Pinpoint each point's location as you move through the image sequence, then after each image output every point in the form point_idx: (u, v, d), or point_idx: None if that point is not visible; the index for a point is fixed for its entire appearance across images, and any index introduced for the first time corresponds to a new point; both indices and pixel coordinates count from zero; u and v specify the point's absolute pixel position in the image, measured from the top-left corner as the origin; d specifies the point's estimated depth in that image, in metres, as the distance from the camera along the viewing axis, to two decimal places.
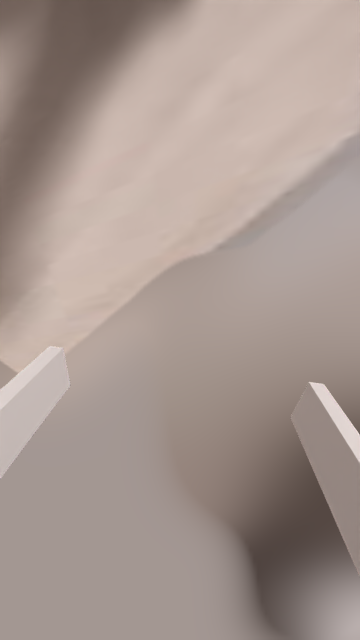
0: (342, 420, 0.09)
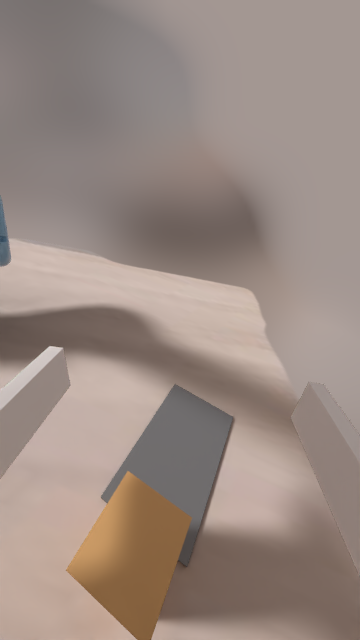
0: (342, 420, 0.09)
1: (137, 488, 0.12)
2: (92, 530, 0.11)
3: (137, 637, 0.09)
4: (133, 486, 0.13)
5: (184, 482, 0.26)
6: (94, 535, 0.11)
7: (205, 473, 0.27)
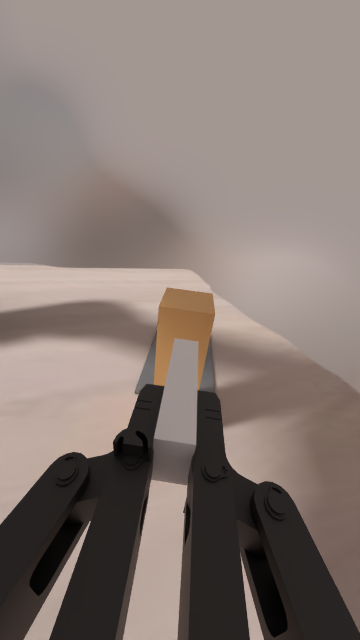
0: (191, 363, 0.11)
1: (177, 290, 0.20)
2: (163, 299, 0.18)
3: (208, 312, 0.17)
4: (174, 290, 0.20)
5: None
6: (165, 299, 0.18)
7: (205, 362, 0.36)
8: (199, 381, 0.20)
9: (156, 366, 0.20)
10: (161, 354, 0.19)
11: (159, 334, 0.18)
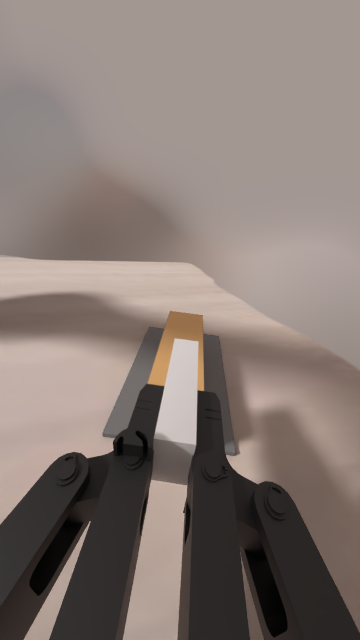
0: (191, 363, 0.11)
1: None
2: None
3: (198, 315, 0.29)
4: None
5: None
6: None
7: (214, 378, 0.24)
8: (202, 345, 0.22)
9: (164, 334, 0.23)
10: (169, 328, 0.25)
11: (168, 319, 0.26)
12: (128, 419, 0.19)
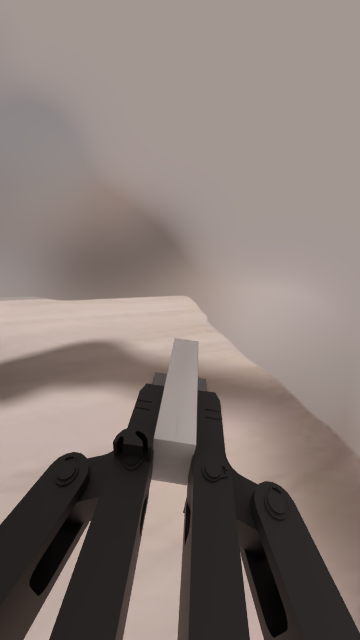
0: (191, 363, 0.11)
1: None
2: None
3: None
4: None
5: None
6: None
7: None
8: None
9: None
10: None
11: None
12: None
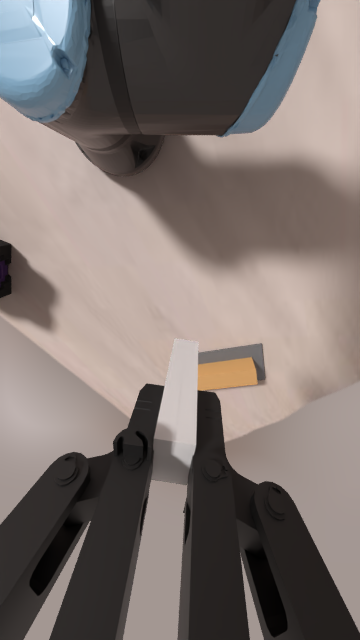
0: (191, 363, 0.11)
1: None
2: (254, 365, 0.49)
3: None
4: None
5: None
6: (254, 366, 0.49)
7: None
8: (226, 387, 0.51)
9: (228, 373, 0.49)
10: (235, 373, 0.49)
11: (244, 371, 0.48)
12: None
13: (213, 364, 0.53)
